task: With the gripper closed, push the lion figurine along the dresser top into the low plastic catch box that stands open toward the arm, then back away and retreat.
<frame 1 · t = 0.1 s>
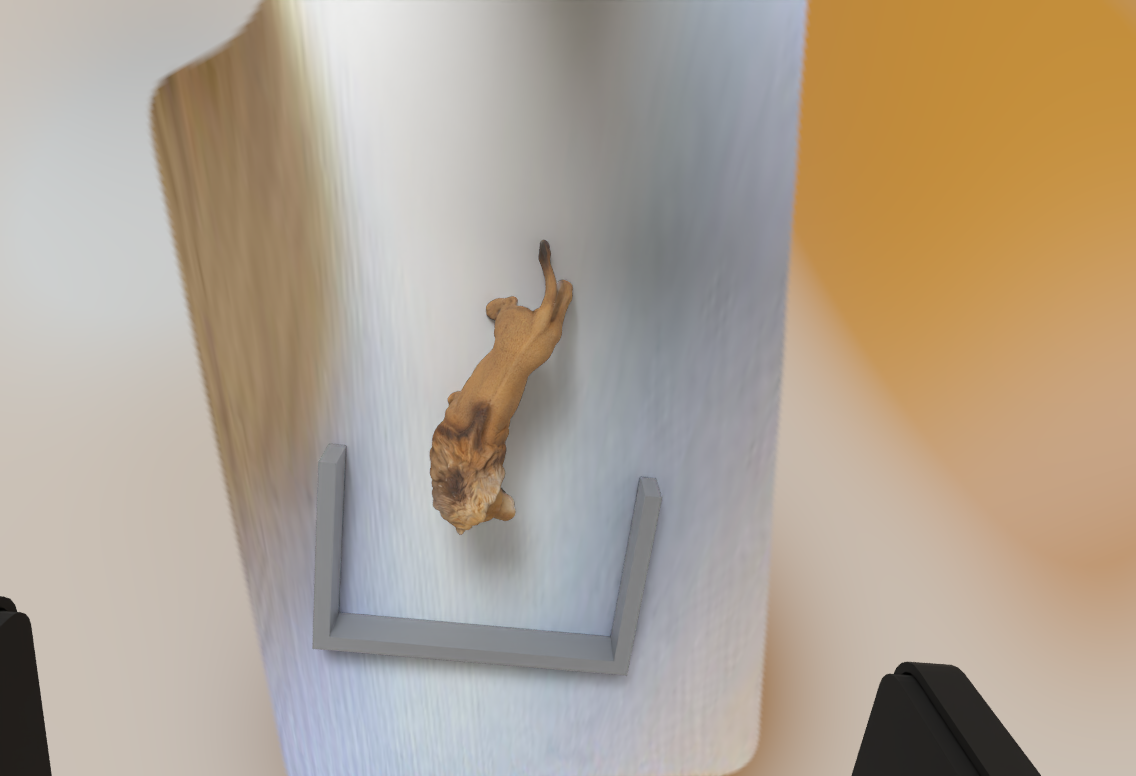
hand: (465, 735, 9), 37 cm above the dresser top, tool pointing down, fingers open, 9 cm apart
lion figurine: (507, 366, 46), on the dresser top
catch box: (485, 546, 50), on the dresser top
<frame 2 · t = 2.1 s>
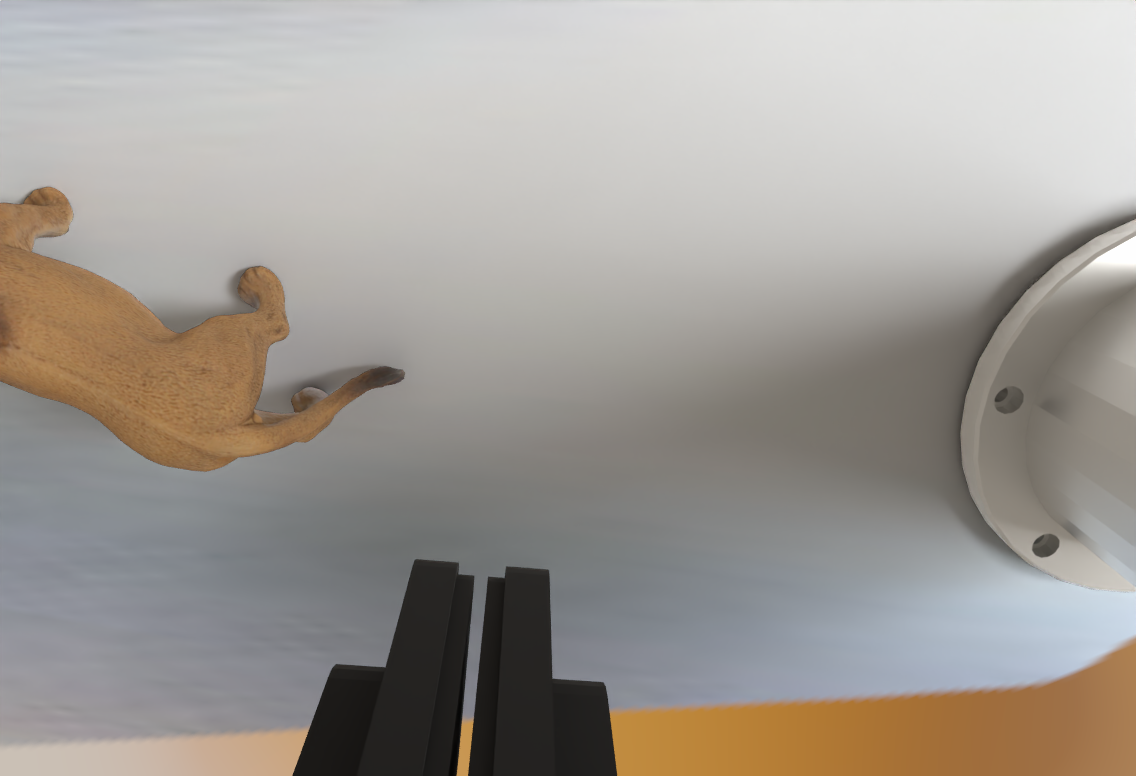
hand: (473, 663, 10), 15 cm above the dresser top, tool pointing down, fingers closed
lion figurine: (149, 305, 23), on the dresser top
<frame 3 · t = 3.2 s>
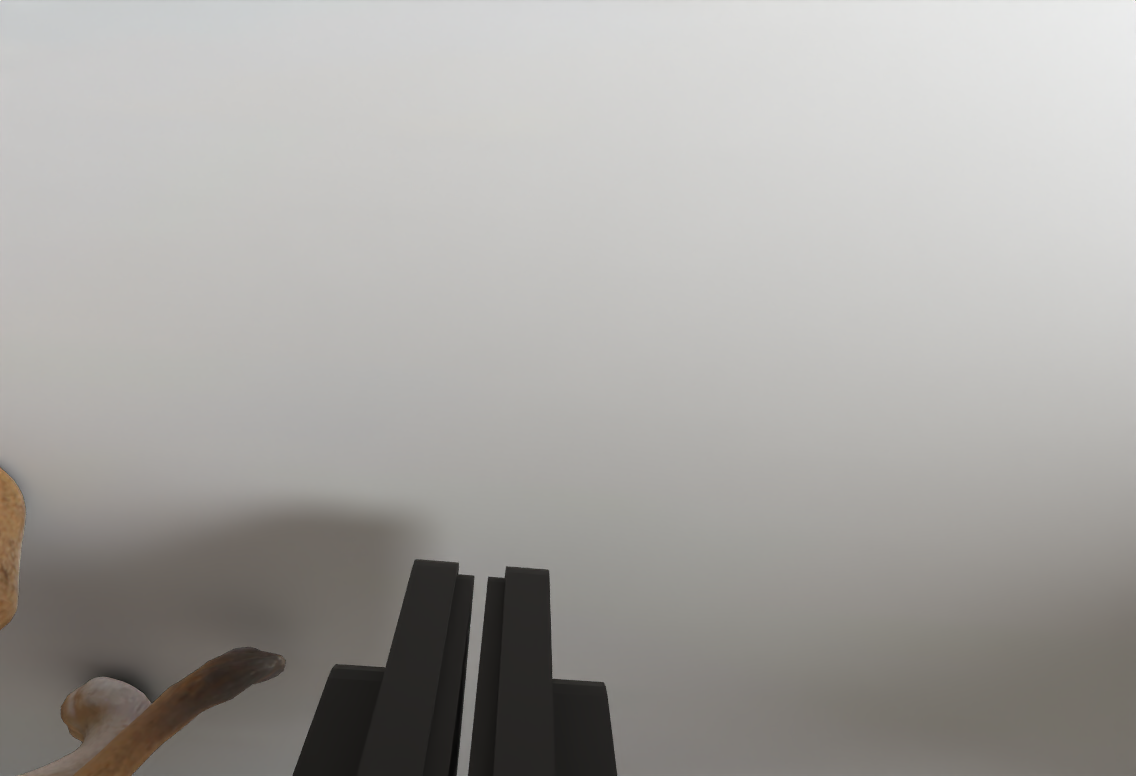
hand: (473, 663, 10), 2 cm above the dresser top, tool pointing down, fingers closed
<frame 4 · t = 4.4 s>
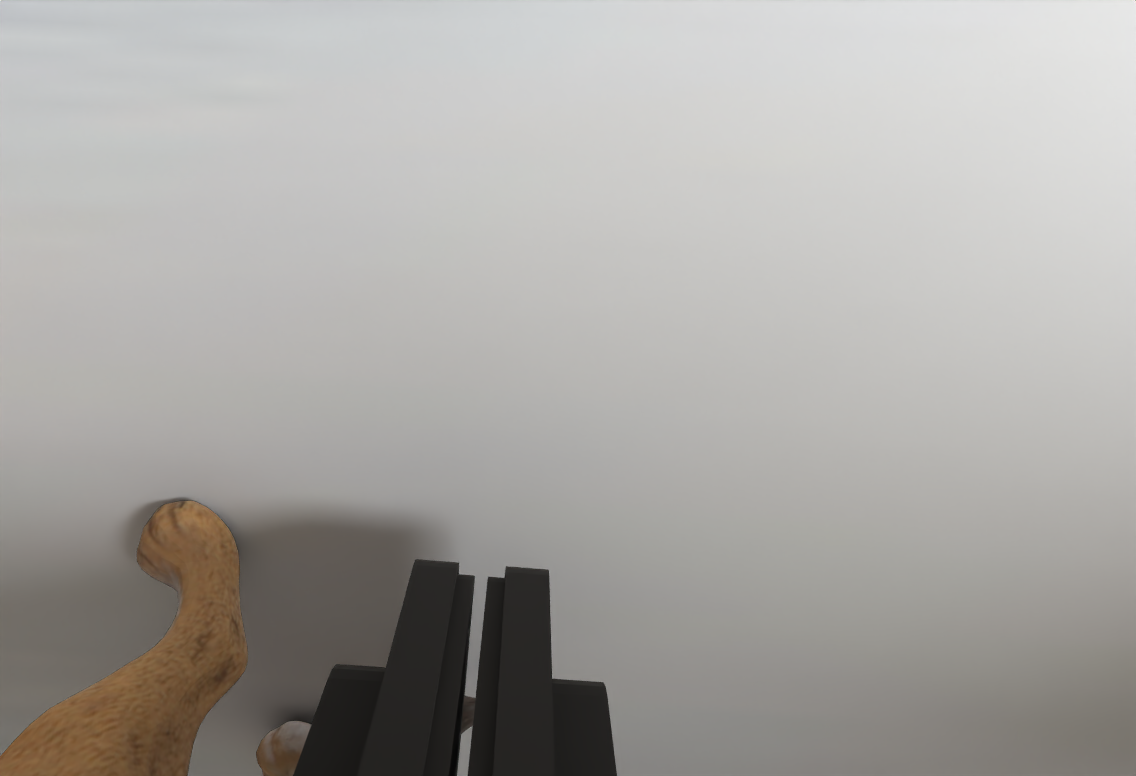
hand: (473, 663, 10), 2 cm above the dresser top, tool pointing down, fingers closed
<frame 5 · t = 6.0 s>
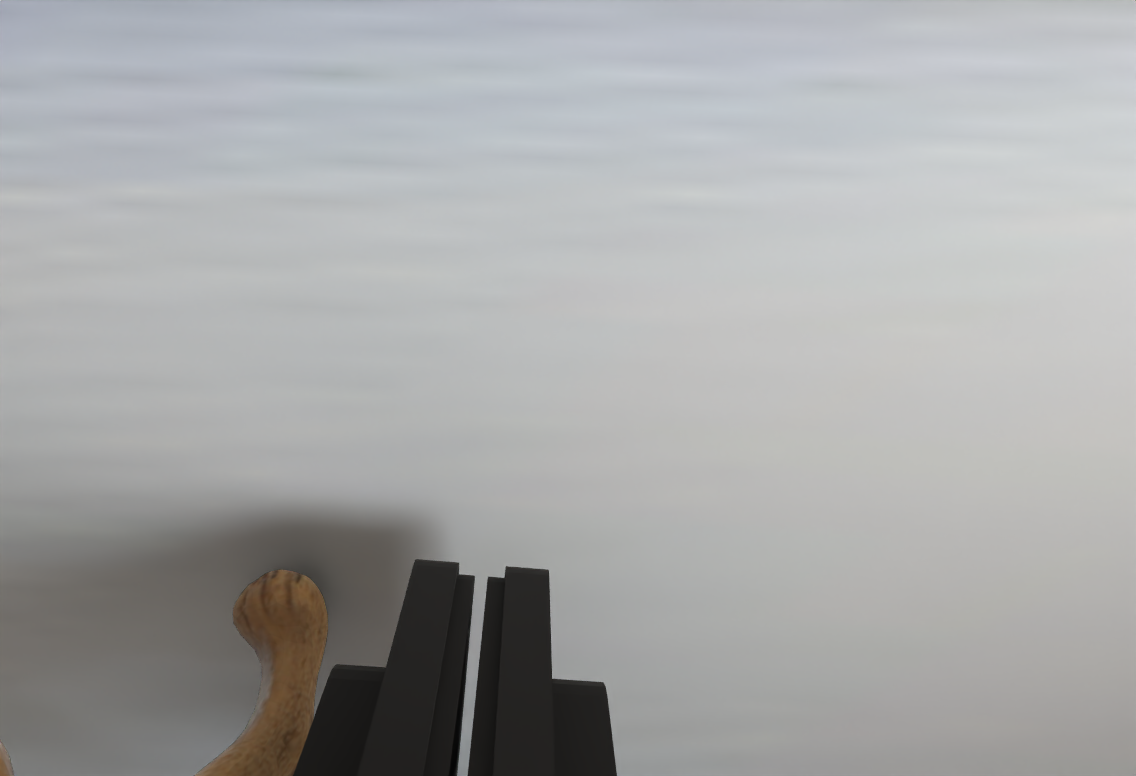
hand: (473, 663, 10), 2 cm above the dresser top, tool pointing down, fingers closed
lion figurine: (34, 532, 11), on the dresser top, touching gripper
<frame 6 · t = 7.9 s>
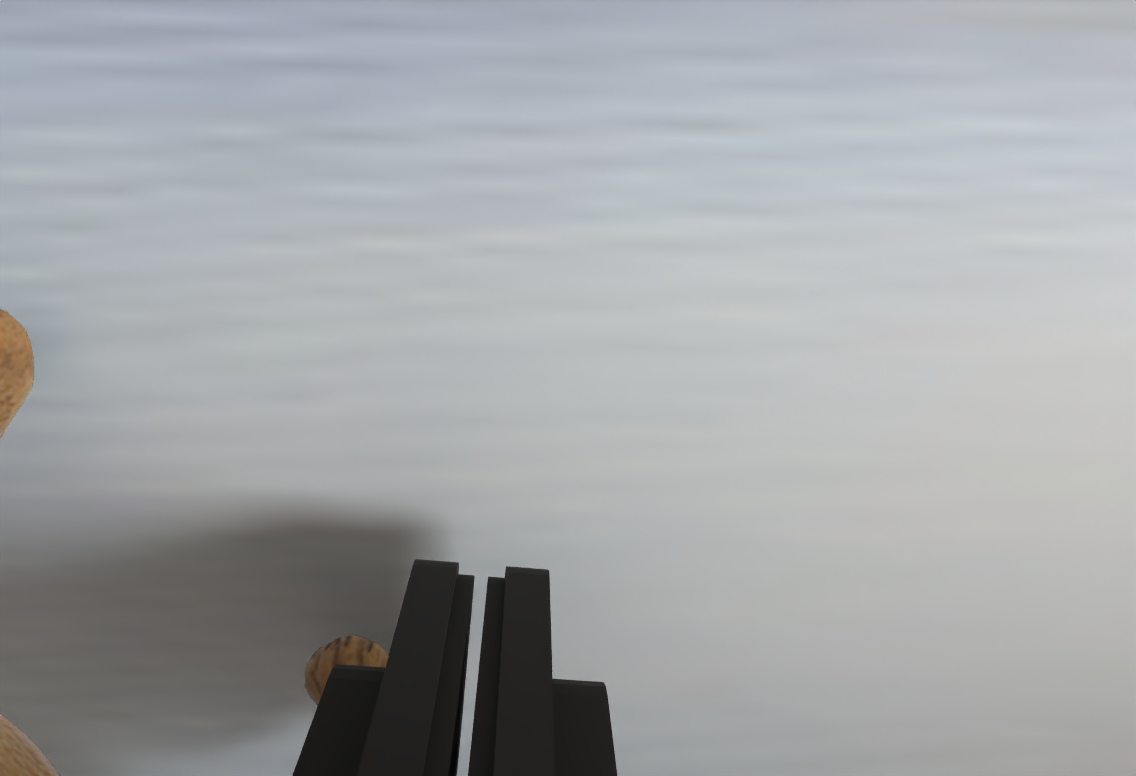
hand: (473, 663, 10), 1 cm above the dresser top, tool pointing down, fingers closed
lion figurine: (115, 577, 11), on the dresser top, touching gripper
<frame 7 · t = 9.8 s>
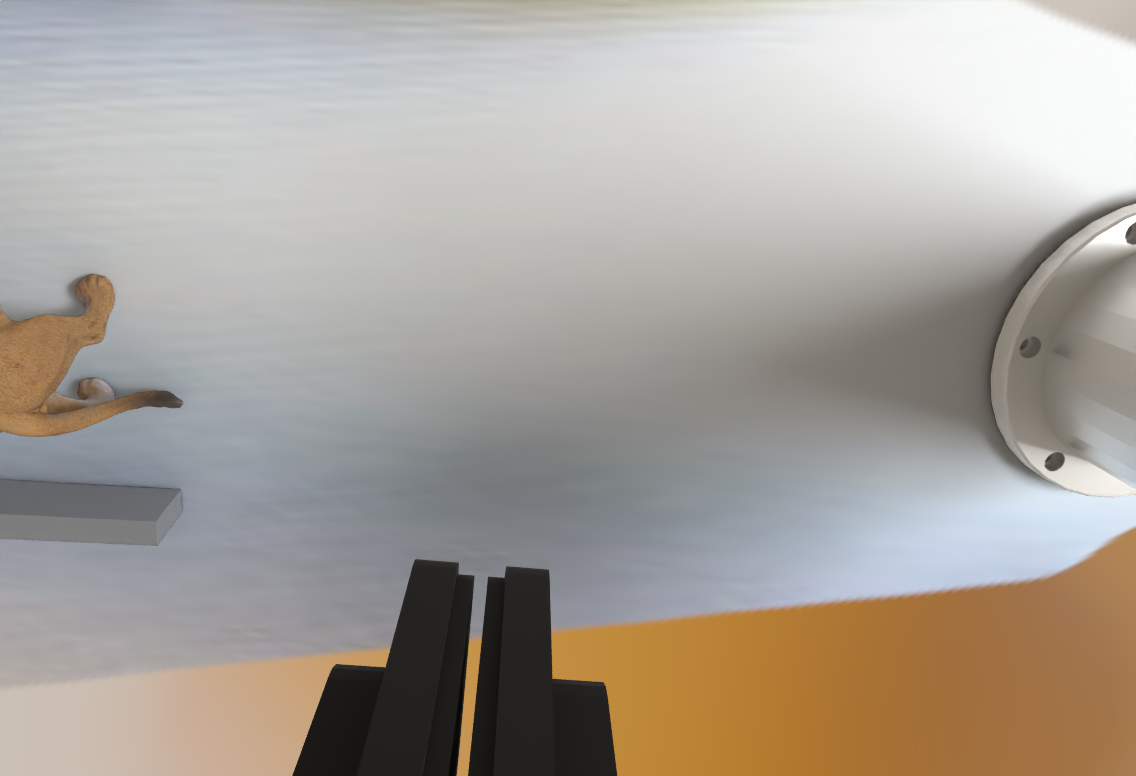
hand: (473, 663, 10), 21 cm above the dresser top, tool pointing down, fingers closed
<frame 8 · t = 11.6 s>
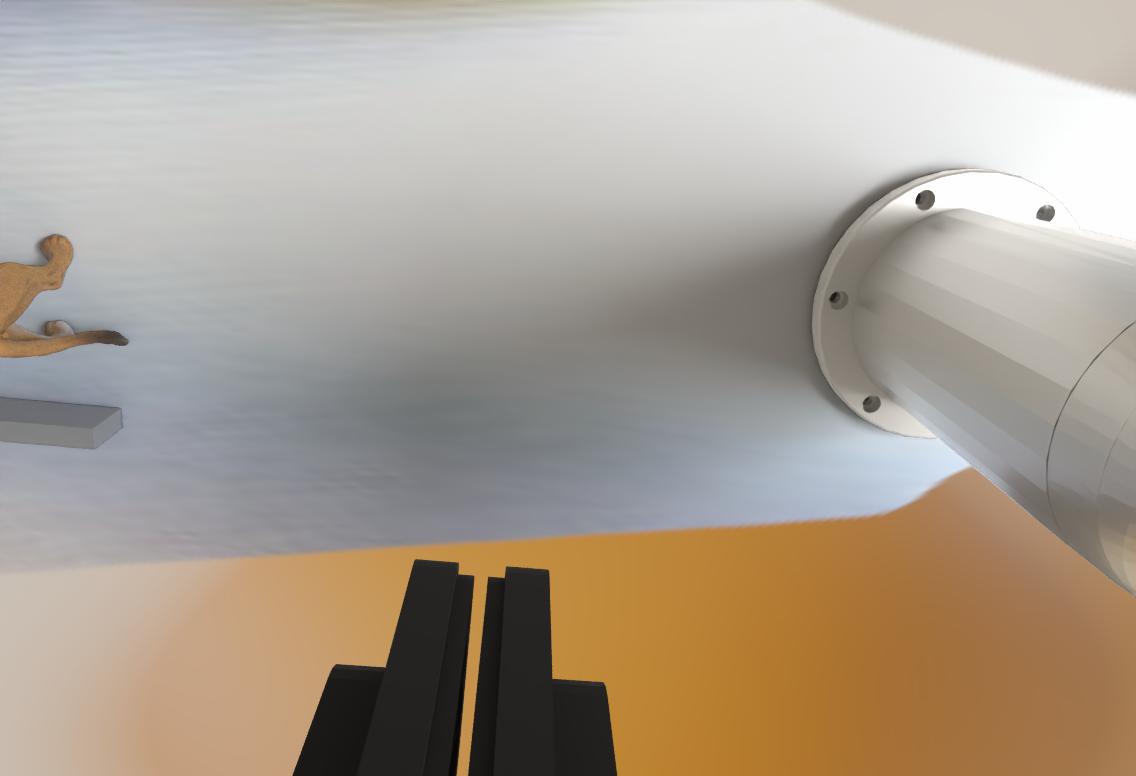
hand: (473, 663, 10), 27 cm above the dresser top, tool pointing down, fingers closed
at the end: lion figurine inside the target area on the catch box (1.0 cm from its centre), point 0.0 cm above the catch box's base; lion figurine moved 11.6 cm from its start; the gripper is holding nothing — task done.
